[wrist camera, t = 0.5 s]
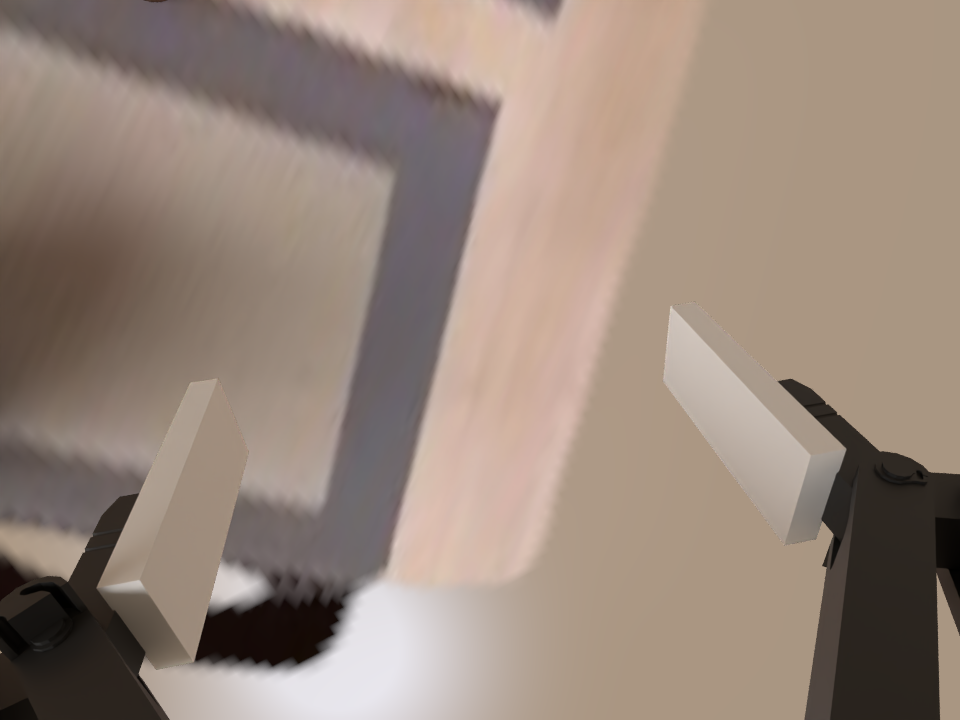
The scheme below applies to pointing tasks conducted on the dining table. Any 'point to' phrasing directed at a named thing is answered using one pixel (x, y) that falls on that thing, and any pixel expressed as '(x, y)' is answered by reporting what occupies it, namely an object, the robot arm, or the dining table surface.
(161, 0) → the short peg
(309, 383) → the dining table surface
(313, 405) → the dining table surface
